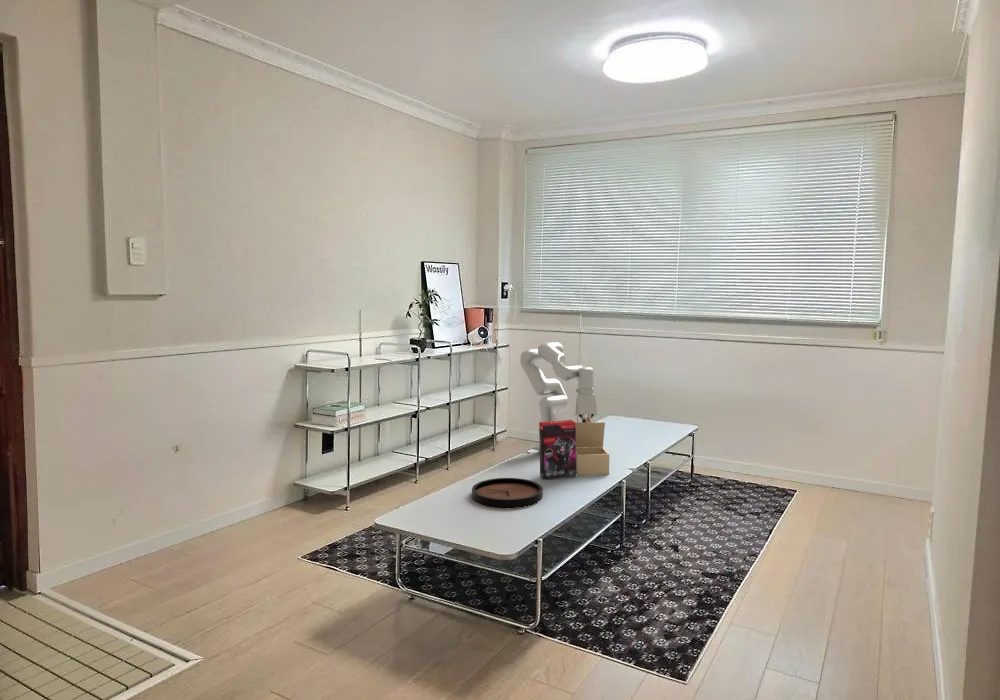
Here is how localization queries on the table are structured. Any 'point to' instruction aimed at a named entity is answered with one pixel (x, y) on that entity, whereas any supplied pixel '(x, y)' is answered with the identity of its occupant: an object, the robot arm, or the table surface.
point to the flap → (589, 434)
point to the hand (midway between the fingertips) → (586, 426)
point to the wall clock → (507, 492)
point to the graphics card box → (557, 449)
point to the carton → (592, 461)
